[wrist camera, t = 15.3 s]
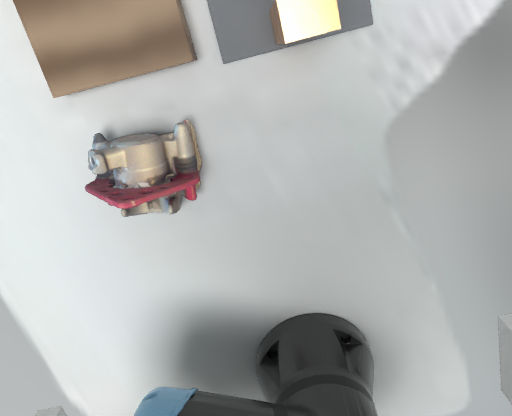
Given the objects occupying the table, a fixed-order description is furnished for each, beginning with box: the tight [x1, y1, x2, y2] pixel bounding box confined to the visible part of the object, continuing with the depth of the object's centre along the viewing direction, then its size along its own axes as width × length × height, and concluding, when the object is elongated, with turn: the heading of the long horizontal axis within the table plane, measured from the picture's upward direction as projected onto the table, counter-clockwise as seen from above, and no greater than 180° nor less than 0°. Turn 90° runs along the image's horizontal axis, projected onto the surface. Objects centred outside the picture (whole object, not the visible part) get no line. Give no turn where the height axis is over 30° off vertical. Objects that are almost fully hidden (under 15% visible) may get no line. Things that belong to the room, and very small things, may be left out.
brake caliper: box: [85, 120, 201, 217], centre depth 41 cm, size 11×11×12 cm
